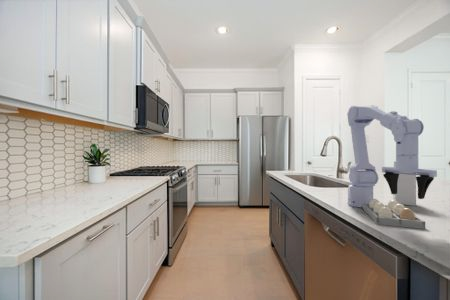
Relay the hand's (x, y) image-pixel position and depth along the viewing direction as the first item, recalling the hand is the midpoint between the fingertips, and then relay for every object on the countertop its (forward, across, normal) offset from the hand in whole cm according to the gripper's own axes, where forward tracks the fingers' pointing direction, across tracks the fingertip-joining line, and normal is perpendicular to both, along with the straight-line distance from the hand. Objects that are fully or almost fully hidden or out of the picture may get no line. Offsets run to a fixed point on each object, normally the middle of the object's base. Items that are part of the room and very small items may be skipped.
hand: (407, 196), depth 72 cm
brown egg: (+9, 0, 0) cm, 9 cm away
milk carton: (+10, +15, -29) cm, 35 cm away
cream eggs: (+9, +6, -2) cm, 11 cm away
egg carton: (+9, +6, -2) cm, 11 cm away
